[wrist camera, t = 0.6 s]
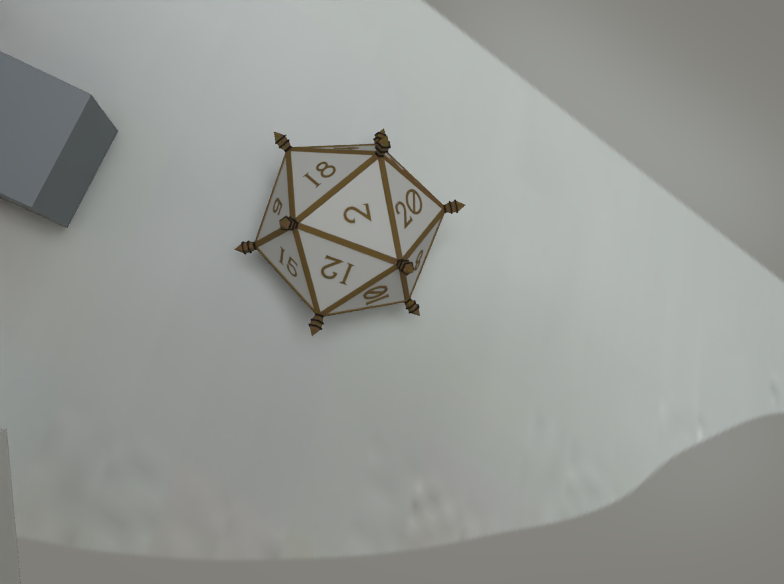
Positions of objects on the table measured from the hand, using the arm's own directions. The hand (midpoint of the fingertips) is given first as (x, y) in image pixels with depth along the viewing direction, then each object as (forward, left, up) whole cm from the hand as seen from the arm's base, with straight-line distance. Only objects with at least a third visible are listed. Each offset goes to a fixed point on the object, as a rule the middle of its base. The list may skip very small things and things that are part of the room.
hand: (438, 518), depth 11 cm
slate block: (-5, -16, -23) cm, 29 cm away
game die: (-7, -3, -23) cm, 25 cm away
